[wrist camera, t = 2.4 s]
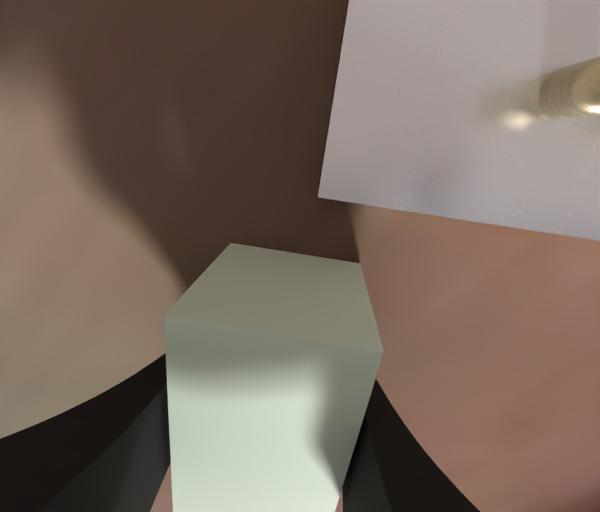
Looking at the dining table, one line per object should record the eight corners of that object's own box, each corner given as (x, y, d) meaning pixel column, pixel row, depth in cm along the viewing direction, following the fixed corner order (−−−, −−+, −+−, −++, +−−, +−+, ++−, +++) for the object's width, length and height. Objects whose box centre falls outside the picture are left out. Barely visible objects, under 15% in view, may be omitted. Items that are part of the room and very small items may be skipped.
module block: (359, 263, 11) (383, 351, 6) (324, 413, 14) (323, 546, 10) (230, 242, 11) (163, 315, 7) (223, 395, 14) (173, 518, 10)
